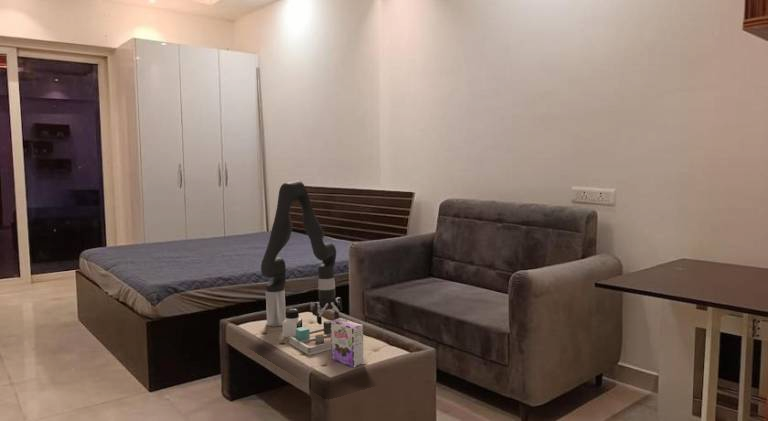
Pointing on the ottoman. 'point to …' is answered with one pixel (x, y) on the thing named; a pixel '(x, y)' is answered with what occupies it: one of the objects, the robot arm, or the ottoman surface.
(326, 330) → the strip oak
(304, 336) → the cube
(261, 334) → the ottoman surface
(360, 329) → the candy box
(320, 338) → the grey puck
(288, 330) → the medicine bottle
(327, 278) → the robot arm
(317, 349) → the lane board
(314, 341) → the strip walnut
